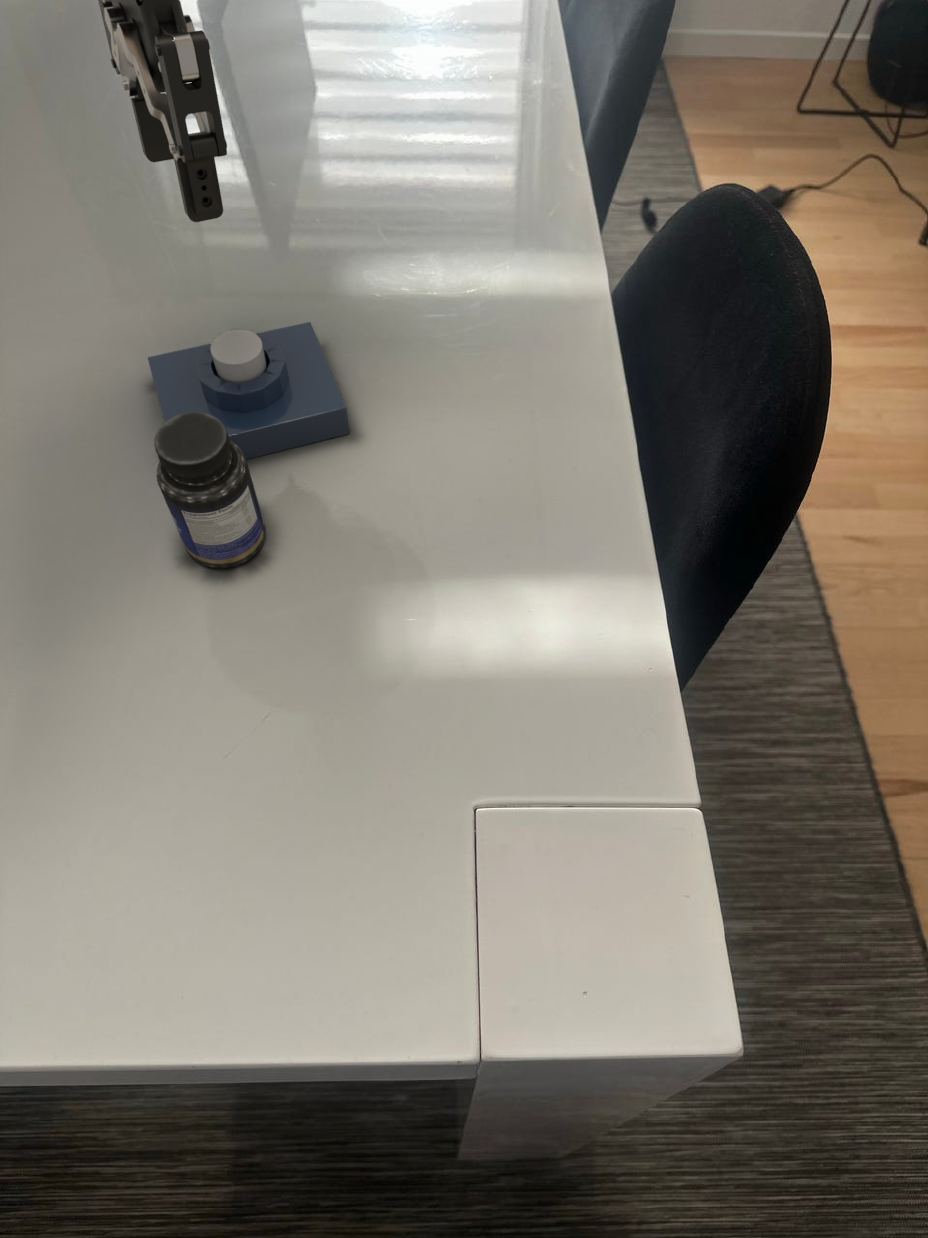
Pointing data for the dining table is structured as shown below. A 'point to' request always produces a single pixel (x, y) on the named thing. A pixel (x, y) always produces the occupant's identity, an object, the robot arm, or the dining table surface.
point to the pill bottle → (208, 490)
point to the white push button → (238, 356)
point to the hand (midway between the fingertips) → (183, 186)
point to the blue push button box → (259, 393)
